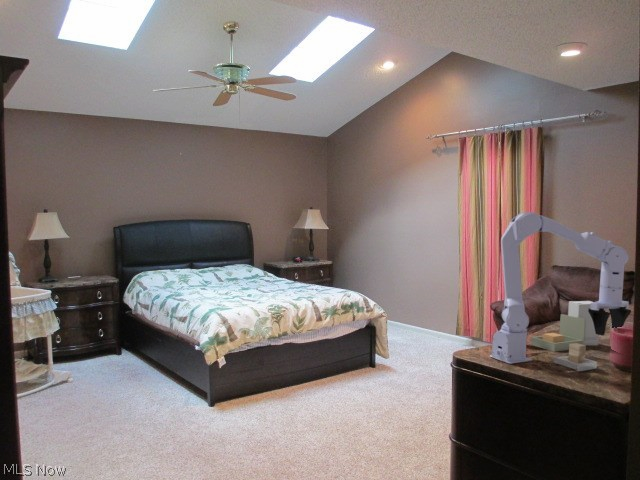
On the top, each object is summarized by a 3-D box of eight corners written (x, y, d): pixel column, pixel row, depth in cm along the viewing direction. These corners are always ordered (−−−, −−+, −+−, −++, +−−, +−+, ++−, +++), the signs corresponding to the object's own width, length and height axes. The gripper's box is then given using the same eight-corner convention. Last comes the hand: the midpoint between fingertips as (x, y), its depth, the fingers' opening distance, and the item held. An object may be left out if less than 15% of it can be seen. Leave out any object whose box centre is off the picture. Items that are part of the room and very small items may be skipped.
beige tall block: (577, 367, 141) (579, 346, 141) (568, 364, 144) (569, 343, 143) (584, 366, 142) (585, 345, 142) (575, 363, 145) (576, 343, 145)
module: (552, 348, 161) (553, 336, 161) (542, 345, 165) (542, 333, 164) (562, 347, 163) (563, 335, 163) (552, 344, 167) (553, 332, 167)
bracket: (577, 371, 138) (578, 353, 138) (553, 363, 145) (554, 347, 145) (596, 368, 142) (597, 351, 142) (572, 361, 149) (573, 344, 148)
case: (554, 352, 158) (555, 321, 157) (530, 345, 166) (532, 316, 165) (583, 349, 164) (585, 319, 164) (560, 342, 172) (561, 314, 172)
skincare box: (587, 342, 174) (589, 300, 174) (599, 346, 168) (602, 303, 168) (565, 342, 173) (567, 300, 172) (576, 346, 167) (579, 303, 166)
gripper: (608, 289, 135) (605, 338, 136) (640, 288, 142) (637, 335, 143) (584, 286, 142) (581, 333, 142) (616, 284, 148) (613, 329, 149)
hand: (608, 333), depth 143 cm, fingers open, 7 cm apart
